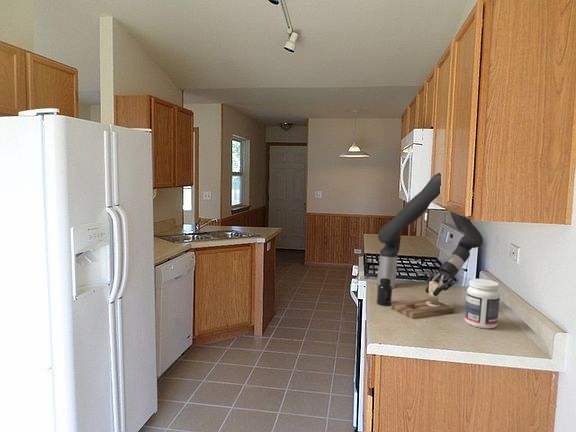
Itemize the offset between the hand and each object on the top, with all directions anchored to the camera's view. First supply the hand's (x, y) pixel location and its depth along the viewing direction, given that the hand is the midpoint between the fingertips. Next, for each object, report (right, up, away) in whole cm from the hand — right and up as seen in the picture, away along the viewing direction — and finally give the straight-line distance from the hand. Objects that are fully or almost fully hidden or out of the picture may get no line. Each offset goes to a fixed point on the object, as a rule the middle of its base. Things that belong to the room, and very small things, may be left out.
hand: (430, 293), depth 198 cm
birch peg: (+2, -4, +1) cm, 4 cm away
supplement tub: (+16, -11, -16) cm, 25 cm away
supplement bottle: (-20, -7, +7) cm, 22 cm away
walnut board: (-4, -8, -1) cm, 9 cm away
